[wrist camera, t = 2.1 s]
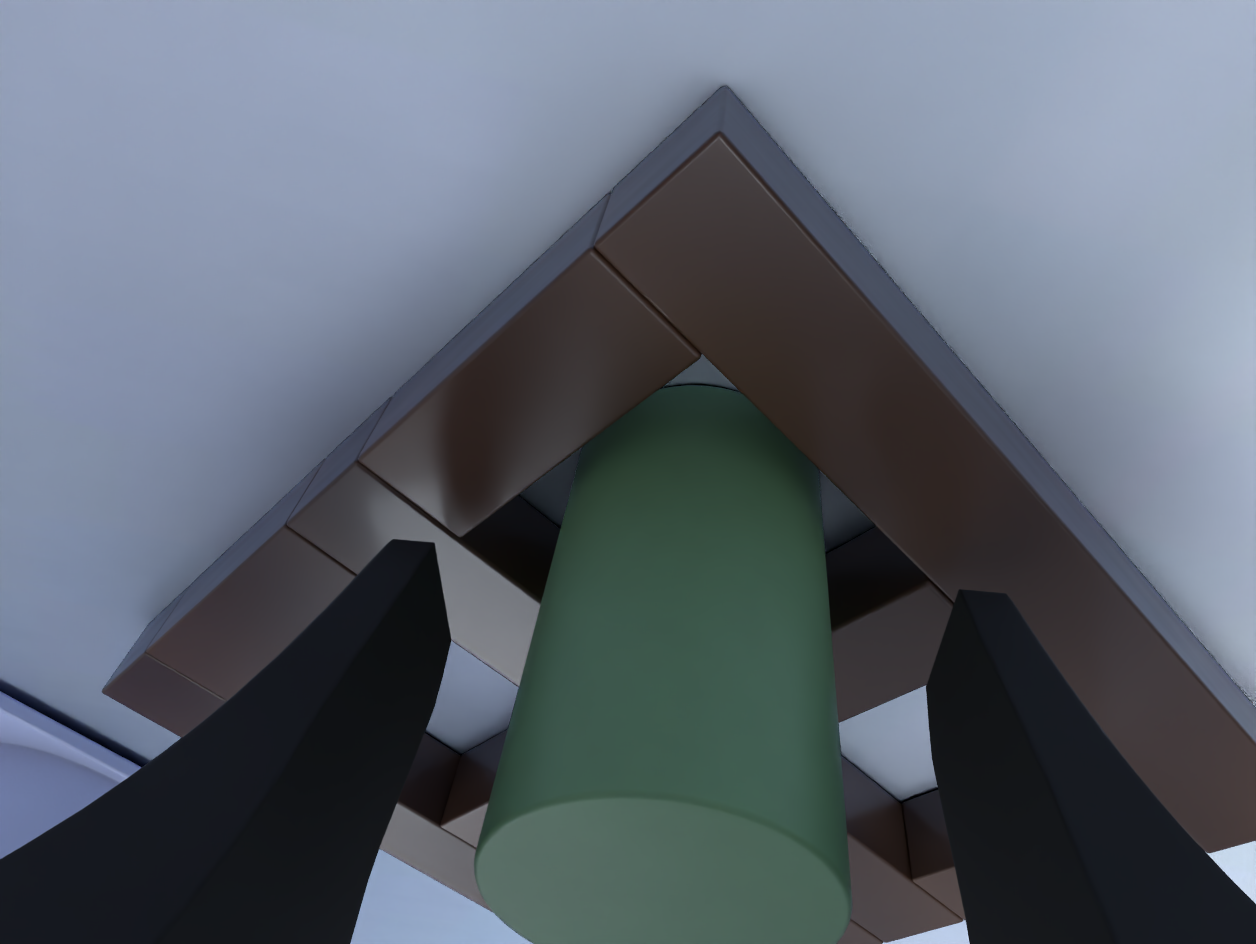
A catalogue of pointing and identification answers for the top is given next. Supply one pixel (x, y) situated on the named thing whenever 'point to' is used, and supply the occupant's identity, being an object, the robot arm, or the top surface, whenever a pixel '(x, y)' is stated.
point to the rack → (811, 419)
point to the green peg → (677, 698)
